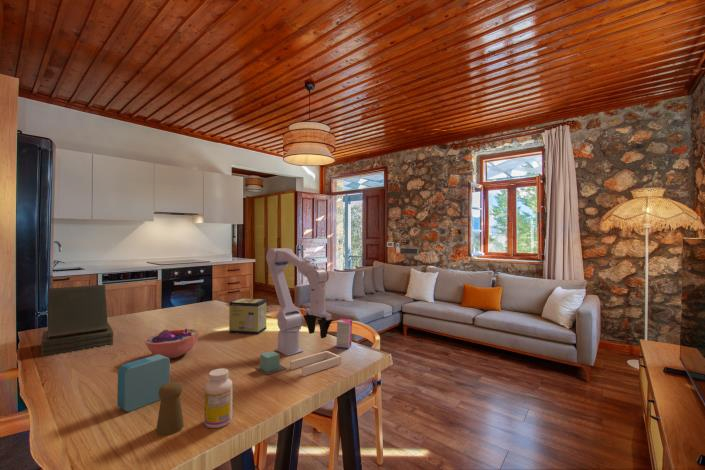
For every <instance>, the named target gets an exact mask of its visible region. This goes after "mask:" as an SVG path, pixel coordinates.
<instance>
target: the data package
mask: <svg viewBox="0 0 705 470" xmlns="http://www.w3.org/2000/svg"><path fill="white" fill-rule="evenodd" d="M170 360H171V359H169V358H167V357H165V356H162V355H152V356H147V357H144V358H141V359H137V360H134V361H130V362H127V363H124V364H121V366H119V368H118V370H117V398H116V399H117V402H116V403H117V404H116V405H117V407H118V408H120V409H121V410H124V411H125V412H126V413H131V412H133V411H136V410H139V409H141V408H142V407H143V408H144V407H146V406H149V405H151V404H153V403H156V402H159V401H161V399H160V398H159V395H158V392H159V389H160V387H161V386H162V385H164V384H166V383H169V382H171V380H170V379H171V378H170V377H171V376H170V375H171V361H170Z"/></svg>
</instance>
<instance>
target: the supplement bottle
mask: <svg viewBox="0 0 705 470" xmlns="http://www.w3.org/2000/svg"><path fill="white" fill-rule="evenodd" d="M229 372H230V371H229V369H228V368H223V367H222V368H216V369H213V370H211V371H210V372H209V373H208V374H209V375H208V379H209V381H207V383H206V384H205V386H204V425H205V426H206V427H207V428H210V429H218V428H222V427H224V426H227V425H228V424H230V422H232V419H233V381H232V380H231V379H230V378H229V375H230V374H229Z"/></svg>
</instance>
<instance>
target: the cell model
mask: <svg viewBox="0 0 705 470" xmlns="http://www.w3.org/2000/svg"><path fill="white" fill-rule="evenodd" d="M198 340H199V331H198V330H196V329H193V328H191V329H188V328H185V329H175V330H174V329H173V330H169V329H163V330H162V331H160V332H157V333H155V334H153V335H150V336H148V337H146V338H145V339H144V340H143V343H144V345H145V347H146V348H147V349H148V351H150V353H152V356H154V355H162V356H165V357H167V358H169V359H170V360H172V359H176V358H178V357H180V356H183V355H184V354H186V353H188V352H189V351H191V350H192V349H193V348H194V347H195V345H196V344H197V341H198Z"/></svg>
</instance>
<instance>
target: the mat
mask: <svg viewBox="0 0 705 470" xmlns="http://www.w3.org/2000/svg"><path fill="white" fill-rule="evenodd" d="M255 369H256V370H257V371H259V372H260V373H262V374H263V375H265V376H269V375H272V374H275V373H279V372H282V371H285V370H287V367H285V366H283V365H281V364H280V369H276V370H273V371H269V372H266V371H264V370H263V369H261V368H260V365H259V366H256V367H255Z"/></svg>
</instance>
